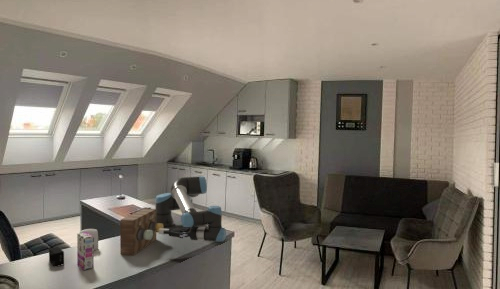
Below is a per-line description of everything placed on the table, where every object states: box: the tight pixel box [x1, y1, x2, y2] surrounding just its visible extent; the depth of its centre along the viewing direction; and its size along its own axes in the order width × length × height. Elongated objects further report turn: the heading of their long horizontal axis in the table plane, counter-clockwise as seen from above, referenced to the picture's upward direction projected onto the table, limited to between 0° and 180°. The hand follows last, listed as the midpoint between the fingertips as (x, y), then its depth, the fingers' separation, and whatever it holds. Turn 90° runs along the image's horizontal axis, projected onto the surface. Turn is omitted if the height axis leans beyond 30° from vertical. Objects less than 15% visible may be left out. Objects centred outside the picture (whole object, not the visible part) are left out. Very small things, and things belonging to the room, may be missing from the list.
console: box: [119, 208, 157, 256], centre depth 193 cm, size 28×10×20 cm, turn 170°
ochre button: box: [155, 223, 165, 233], centre depth 199 cm, size 6×3×6 cm, turn 170°
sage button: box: [144, 230, 153, 240], centre depth 185 cm, size 6×3×6 cm, turn 170°
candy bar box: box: [76, 232, 95, 271], centre depth 164 cm, size 11×5×16 cm, turn 45°
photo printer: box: [79, 228, 99, 251], centre depth 187 cm, size 10×4×12 cm, turn 104°
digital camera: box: [48, 246, 65, 267], centre depth 168 cm, size 10×5×7 cm, turn 47°
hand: (159, 231), depth 183 cm, fingers closed
